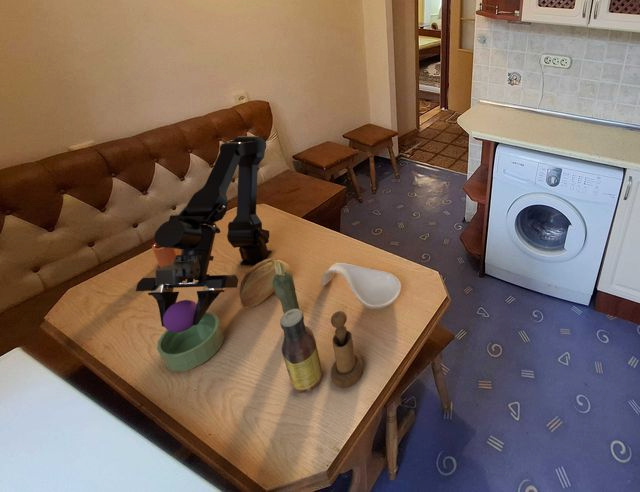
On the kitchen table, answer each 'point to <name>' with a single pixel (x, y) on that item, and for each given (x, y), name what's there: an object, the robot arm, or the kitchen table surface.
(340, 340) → the mortar and pestle
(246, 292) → the bread roll
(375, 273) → the spoon rest
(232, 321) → the kitchen table surface
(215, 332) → the bowl
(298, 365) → the sauce bottle
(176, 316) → the plum
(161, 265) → the stand
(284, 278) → the vegetable
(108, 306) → the kitchen table surface
